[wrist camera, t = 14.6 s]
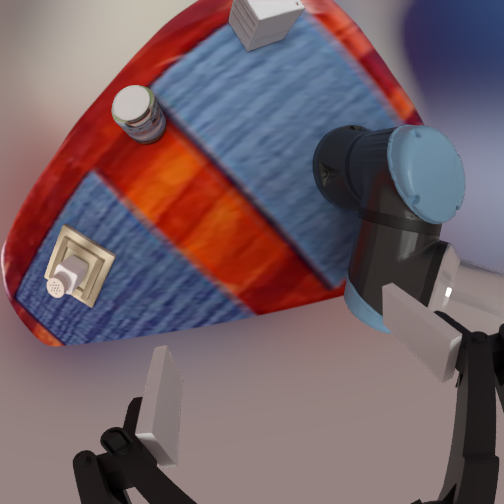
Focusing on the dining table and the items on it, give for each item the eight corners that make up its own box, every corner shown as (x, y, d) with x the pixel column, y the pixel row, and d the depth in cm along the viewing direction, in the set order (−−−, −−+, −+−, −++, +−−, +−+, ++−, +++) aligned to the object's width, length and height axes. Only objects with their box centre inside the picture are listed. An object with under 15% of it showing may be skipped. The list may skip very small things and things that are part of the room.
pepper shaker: (65, 271, 45) (41, 292, 36) (72, 252, 44) (48, 270, 35) (83, 282, 46) (62, 305, 37) (90, 263, 45) (69, 283, 36)
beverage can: (138, 151, 43) (119, 145, 32) (122, 113, 41) (99, 96, 30) (174, 134, 44) (165, 121, 32) (157, 95, 41) (144, 73, 30)
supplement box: (264, 10, 39) (282, -27, 27) (283, 40, 42) (307, 8, 30) (226, 21, 39) (235, -17, 27) (245, 53, 42) (260, 20, 30)
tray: (116, 255, 47) (112, 259, 45) (93, 305, 48) (89, 310, 46) (66, 223, 44) (60, 226, 42) (46, 274, 45) (41, 279, 43)
